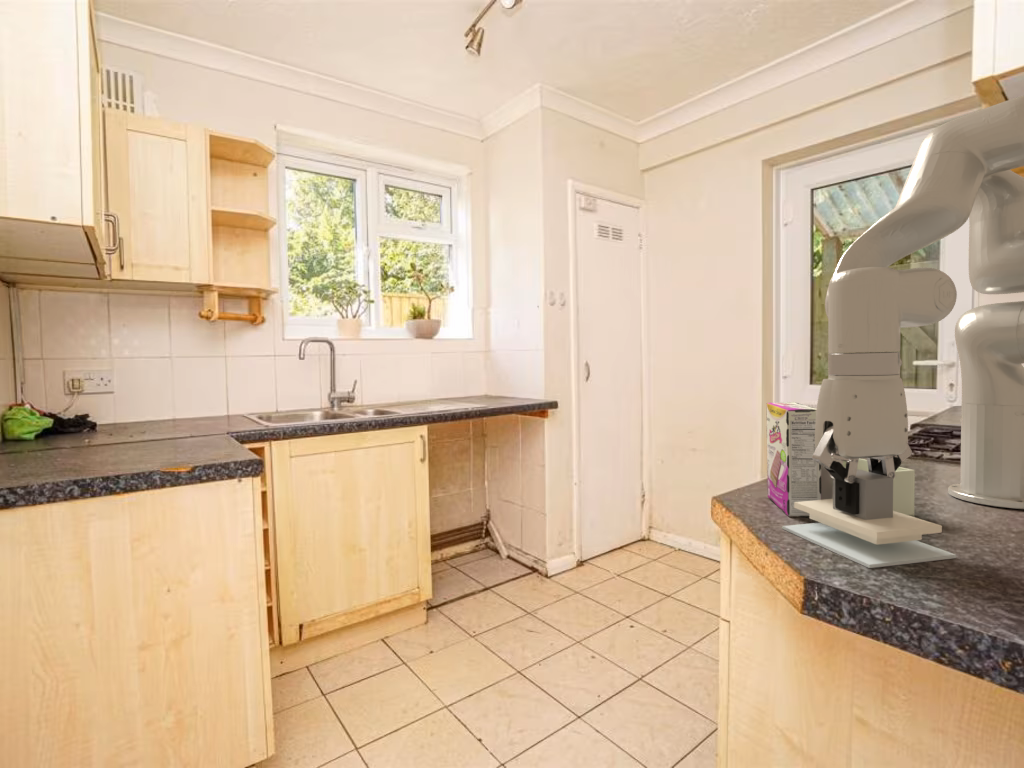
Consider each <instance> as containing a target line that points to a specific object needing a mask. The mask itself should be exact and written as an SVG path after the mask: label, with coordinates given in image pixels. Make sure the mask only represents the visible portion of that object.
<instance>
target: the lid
mask: <svg viewBox="0 0 1024 768" xmlns="http://www.w3.org/2000/svg"><path fill="white" fill-rule="evenodd" d="M855 482H856V483H859V514H856V515H853V514H850V513H847V512H844V511H841V510H838V509H837V508H836V507H835V479H833V499H824V500H813V501H801V502H794V508H796V509H799V510H801V511H804V512H807V513H809V514H810V518H809V519H810V520H813V521H815V522H817V523H823V524H825V525H828V526H830V527H833V528H836V529H838V530H841V531H843V532H846V533H848V534H851V535H853V536H856V537H858V538H861V539H863V540H866V541H869V542H871V543H874V544H876V545H878V544H887V543H896V542H905V541H914V540H917V541H921V540H922V539H923V538H922V537H923V535H930V534H938V533H942V532H943V526H942V525H941V524H938V523H934V522H932V521H928V520H924V519H921V518H918V517H915V516H914V517H912V516H909V515H906V514H902V513H899V512H896V511H893V478H892V477H888V476H884V475H880V474H876V473H872V472H867V471H863V470H859V469H858V470H857V473H856V480H855Z"/></svg>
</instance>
